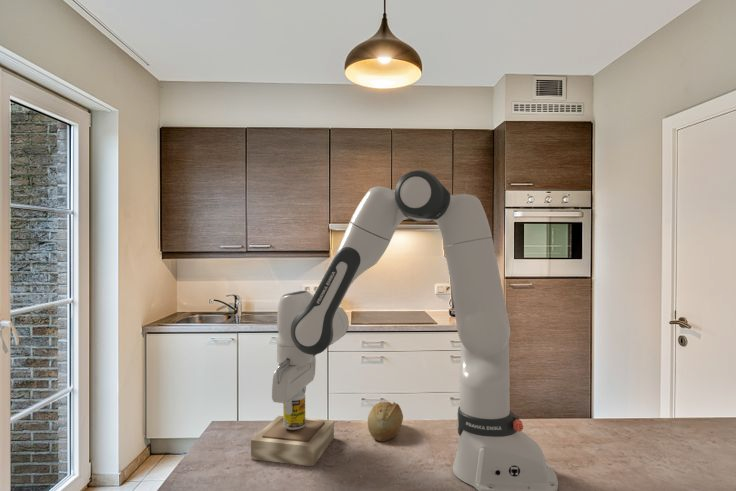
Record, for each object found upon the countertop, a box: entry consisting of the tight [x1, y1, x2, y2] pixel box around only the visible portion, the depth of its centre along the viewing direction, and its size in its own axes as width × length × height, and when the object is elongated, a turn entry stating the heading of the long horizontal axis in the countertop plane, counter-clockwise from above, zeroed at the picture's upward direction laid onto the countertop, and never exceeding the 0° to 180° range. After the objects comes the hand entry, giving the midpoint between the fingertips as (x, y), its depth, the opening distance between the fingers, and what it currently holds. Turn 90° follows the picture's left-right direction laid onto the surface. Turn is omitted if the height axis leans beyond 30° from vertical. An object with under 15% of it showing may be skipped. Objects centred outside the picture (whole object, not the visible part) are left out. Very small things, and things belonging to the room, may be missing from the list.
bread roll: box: [367, 401, 404, 442], centre depth 125 cm, size 10×15×8 cm, turn 171°
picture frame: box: [250, 415, 335, 467], centre depth 115 cm, size 16×16×5 cm
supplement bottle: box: [282, 387, 306, 430], centre depth 115 cm, size 6×6×10 cm
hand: (294, 408), depth 115 cm, fingers closed on supplement bottle, 6 cm apart
